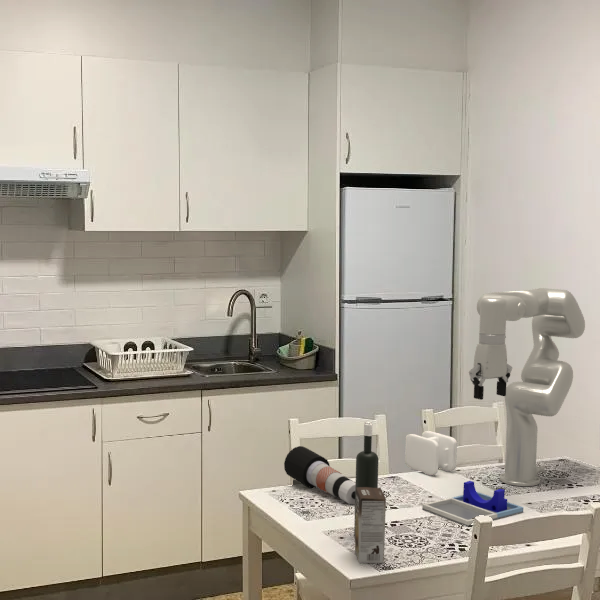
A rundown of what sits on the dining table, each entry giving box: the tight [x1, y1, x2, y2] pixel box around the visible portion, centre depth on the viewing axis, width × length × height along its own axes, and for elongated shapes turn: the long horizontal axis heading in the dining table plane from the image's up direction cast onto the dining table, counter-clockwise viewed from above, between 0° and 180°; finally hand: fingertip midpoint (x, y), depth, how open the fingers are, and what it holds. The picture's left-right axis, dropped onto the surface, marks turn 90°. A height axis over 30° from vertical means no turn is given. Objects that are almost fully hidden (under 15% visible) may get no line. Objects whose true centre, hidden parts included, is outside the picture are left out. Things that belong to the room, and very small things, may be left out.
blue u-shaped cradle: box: [462, 480, 508, 513], centre depth 275 cm, size 12×4×6 cm, turn 44°
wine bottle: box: [353, 421, 379, 537], centre depth 248 cm, size 6×6×30 cm
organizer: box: [404, 430, 458, 476], centre depth 313 cm, size 15×11×12 cm
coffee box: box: [354, 487, 387, 564], centre depth 233 cm, size 9×6×16 cm
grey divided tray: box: [421, 491, 524, 527], centre depth 271 cm, size 22×18×2 cm
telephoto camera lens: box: [283, 445, 356, 505], centre depth 285 cm, size 10×34×10 cm, turn 35°
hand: (489, 397), depth 282 cm, fingers open, 9 cm apart
